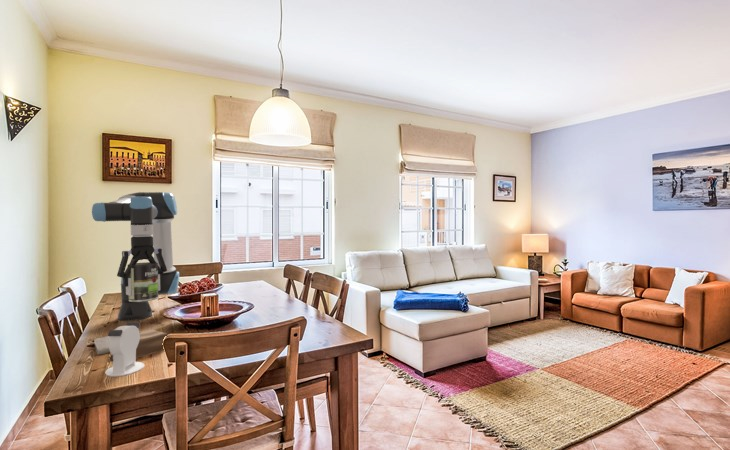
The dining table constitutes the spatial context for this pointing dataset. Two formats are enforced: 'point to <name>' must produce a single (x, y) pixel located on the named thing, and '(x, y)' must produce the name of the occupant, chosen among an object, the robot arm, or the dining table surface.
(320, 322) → the dining table surface
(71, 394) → the dining table surface
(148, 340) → the walnut box
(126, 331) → the white small appliance
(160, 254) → the robot arm
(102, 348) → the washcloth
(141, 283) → the coffee can
